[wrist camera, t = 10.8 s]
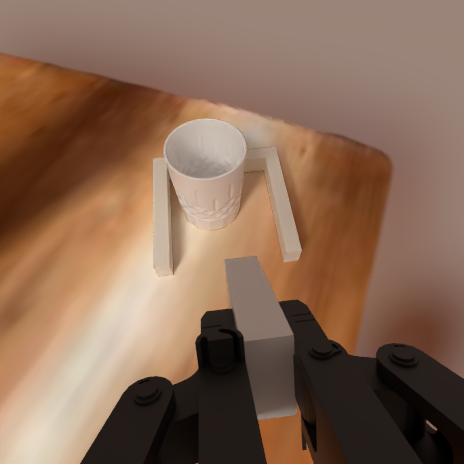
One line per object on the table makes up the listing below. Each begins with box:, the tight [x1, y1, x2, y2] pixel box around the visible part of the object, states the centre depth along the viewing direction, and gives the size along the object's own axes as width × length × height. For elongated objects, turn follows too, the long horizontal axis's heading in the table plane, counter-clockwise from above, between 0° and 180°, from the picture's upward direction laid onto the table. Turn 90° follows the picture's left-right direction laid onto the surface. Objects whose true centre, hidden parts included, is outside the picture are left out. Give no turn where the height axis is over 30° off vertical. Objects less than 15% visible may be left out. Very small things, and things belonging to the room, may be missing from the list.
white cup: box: [163, 118, 247, 230], centre depth 36 cm, size 8×8×10 cm
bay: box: [153, 147, 302, 277], centre depth 39 cm, size 15×15×2 cm
